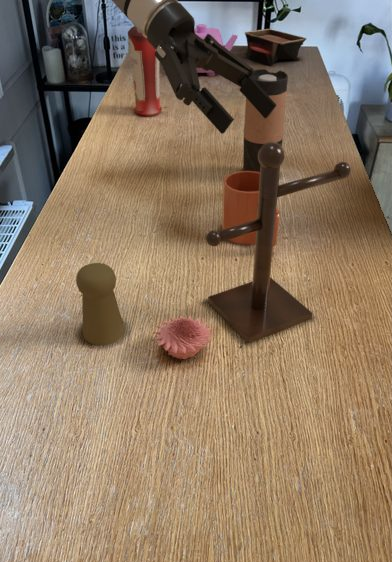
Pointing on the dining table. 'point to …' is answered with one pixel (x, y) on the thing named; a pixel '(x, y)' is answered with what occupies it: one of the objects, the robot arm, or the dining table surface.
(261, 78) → the travel mug
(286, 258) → the dining table surface
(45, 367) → the dining table surface
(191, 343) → the flower
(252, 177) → the mug
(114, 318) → the olive brown pawn
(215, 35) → the teapot
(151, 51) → the liquor
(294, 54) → the dark brown boxy piece
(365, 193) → the dining table surface
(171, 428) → the dining table surface
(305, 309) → the mug tree
